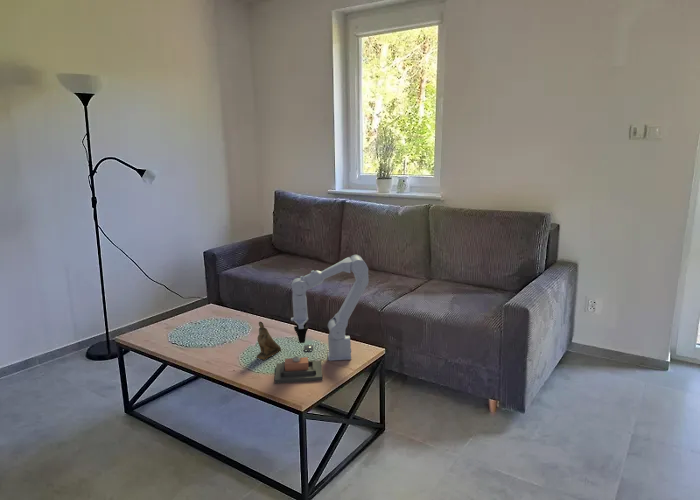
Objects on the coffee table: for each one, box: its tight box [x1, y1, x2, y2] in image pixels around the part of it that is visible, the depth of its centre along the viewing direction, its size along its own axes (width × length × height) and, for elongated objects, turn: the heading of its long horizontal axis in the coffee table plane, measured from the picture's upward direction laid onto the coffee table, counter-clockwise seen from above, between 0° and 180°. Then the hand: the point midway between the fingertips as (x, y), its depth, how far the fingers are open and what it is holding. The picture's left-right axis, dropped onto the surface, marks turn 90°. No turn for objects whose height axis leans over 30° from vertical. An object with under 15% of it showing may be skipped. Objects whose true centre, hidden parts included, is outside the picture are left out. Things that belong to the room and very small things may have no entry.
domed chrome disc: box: [303, 344, 314, 352], centre depth 217 cm, size 4×4×2 cm
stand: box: [274, 359, 323, 384], centre depth 196 cm, size 18×14×3 cm
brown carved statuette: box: [256, 321, 282, 361], centre depth 211 cm, size 12×6×18 cm, turn 144°
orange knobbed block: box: [284, 356, 309, 371], centre depth 195 cm, size 5×9×5 cm, turn 95°
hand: (301, 338), depth 206 cm, fingers open, 7 cm apart
